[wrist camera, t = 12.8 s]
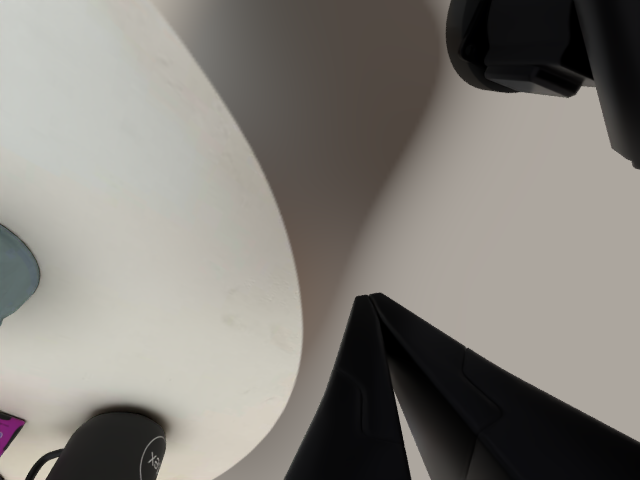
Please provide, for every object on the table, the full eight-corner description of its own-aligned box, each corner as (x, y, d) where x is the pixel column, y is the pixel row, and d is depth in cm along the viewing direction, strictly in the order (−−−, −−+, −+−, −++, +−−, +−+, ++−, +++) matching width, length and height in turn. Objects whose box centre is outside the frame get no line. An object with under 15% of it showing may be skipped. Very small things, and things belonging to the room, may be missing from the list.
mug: (159, 398, 30) (125, 483, 24) (181, 443, 35) (157, 524, 29) (36, 407, 30) (-32, 497, 24) (74, 452, 34) (26, 536, 28)
